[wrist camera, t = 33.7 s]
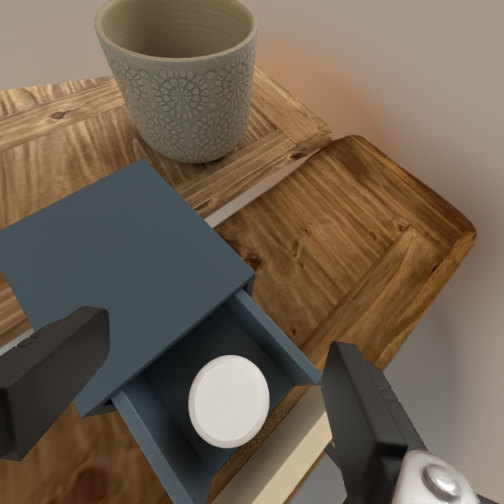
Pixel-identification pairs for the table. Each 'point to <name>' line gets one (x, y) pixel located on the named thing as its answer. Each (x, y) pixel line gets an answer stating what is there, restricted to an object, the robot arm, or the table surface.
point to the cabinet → (122, 270)
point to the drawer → (193, 445)
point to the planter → (182, 71)
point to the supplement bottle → (228, 401)
